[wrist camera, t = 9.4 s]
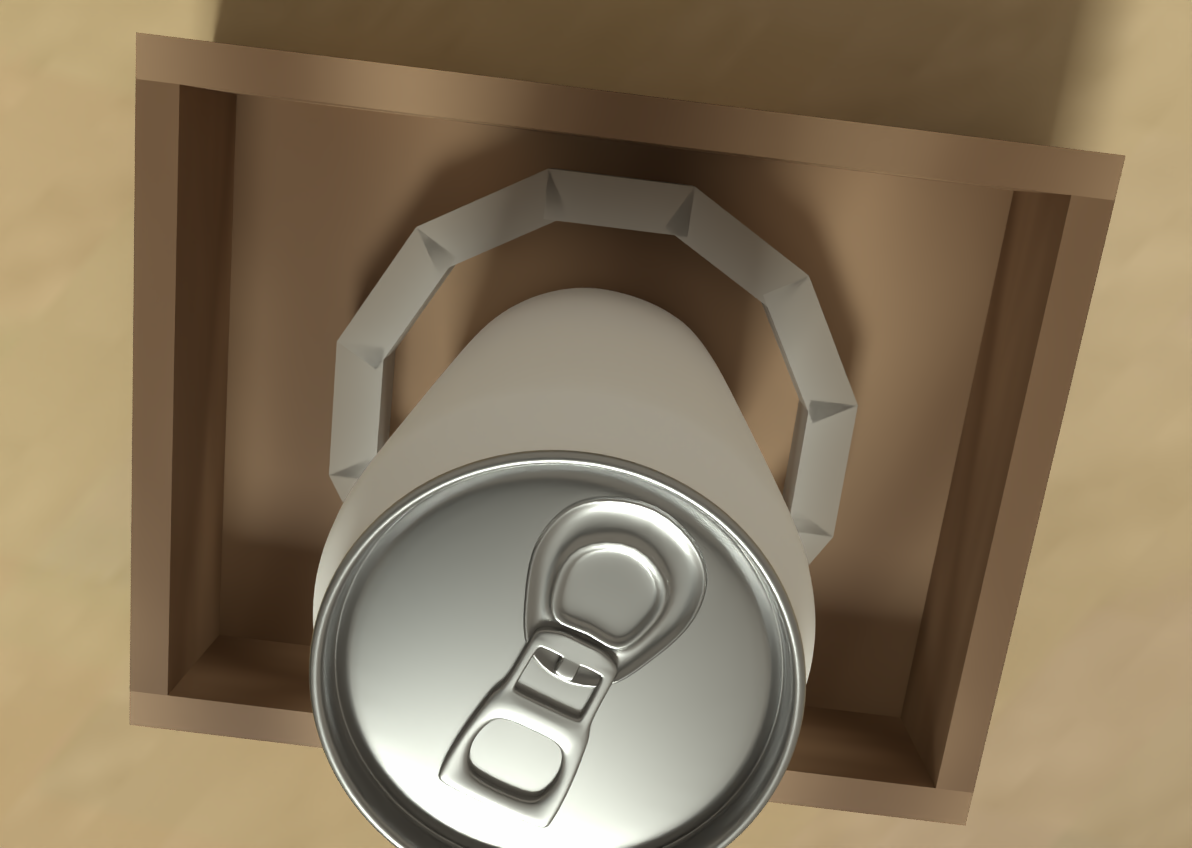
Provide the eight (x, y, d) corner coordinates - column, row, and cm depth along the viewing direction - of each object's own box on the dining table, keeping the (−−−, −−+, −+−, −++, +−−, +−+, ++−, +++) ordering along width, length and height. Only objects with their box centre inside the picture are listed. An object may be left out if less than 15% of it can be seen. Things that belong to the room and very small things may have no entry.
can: (784, 367, 23) (957, 579, 11) (646, 608, 24) (672, 1017, 13) (521, 230, 22) (416, 304, 11) (395, 486, 24) (182, 797, 12)
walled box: (194, 649, 26) (129, 724, 22) (210, 52, 22) (136, 32, 19) (919, 737, 26) (965, 825, 22) (1048, 156, 22) (1125, 156, 19)
